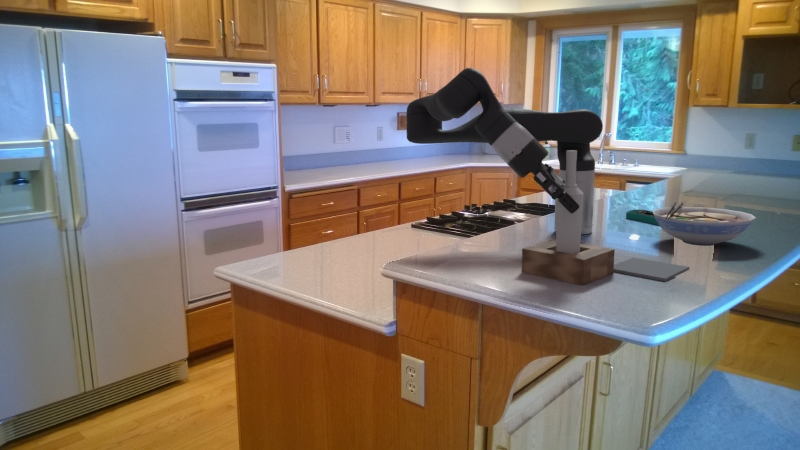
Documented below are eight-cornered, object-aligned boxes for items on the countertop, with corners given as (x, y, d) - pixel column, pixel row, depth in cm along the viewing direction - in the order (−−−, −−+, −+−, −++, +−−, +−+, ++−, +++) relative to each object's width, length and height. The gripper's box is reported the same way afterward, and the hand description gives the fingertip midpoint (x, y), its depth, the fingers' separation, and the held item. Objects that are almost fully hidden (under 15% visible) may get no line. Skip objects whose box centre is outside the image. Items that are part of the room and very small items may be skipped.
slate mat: (606, 270, 121) (606, 267, 121) (632, 260, 129) (633, 257, 129) (664, 281, 112) (665, 278, 112) (689, 269, 120) (689, 266, 120)
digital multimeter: (642, 217, 184) (643, 208, 183) (679, 225, 170) (680, 215, 169) (623, 219, 181) (624, 210, 181) (660, 227, 167) (660, 217, 167)
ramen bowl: (751, 258, 129) (755, 222, 127) (641, 248, 140) (643, 214, 139) (754, 238, 149) (757, 206, 148) (658, 230, 161) (660, 201, 160)
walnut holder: (521, 272, 121) (522, 248, 120) (553, 261, 129) (554, 239, 128) (583, 285, 111) (584, 259, 110) (613, 273, 119) (614, 249, 118)
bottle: (581, 276, 117) (586, 151, 112) (554, 275, 118) (559, 151, 113) (579, 269, 122) (583, 149, 117) (553, 268, 123) (557, 150, 118)
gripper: (509, 160, 126) (562, 213, 125) (501, 165, 113) (561, 226, 111) (535, 135, 123) (589, 189, 122) (530, 137, 110) (591, 199, 109)
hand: (576, 207), depth 117 cm, fingers open, 8 cm apart
